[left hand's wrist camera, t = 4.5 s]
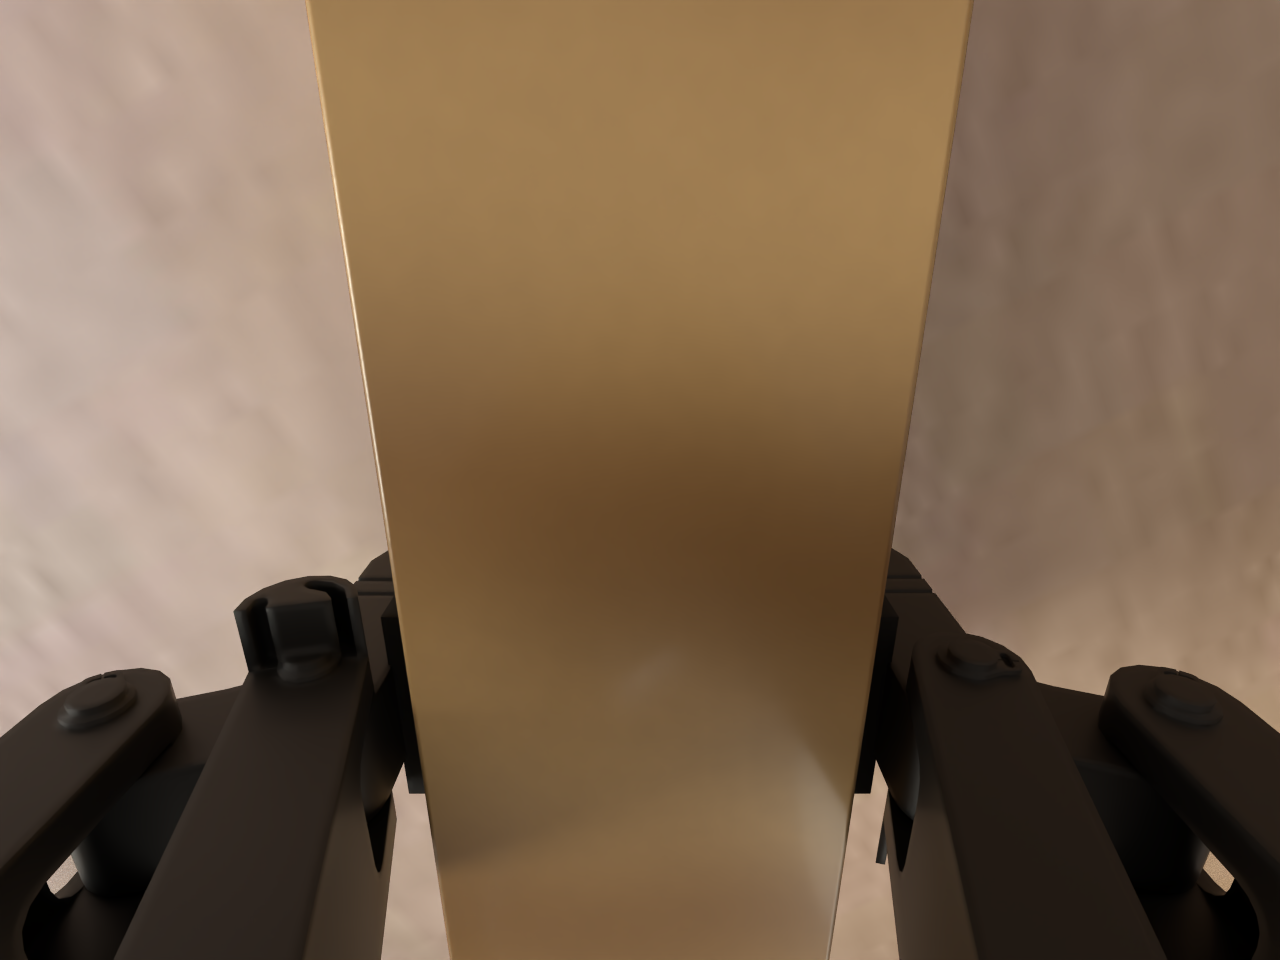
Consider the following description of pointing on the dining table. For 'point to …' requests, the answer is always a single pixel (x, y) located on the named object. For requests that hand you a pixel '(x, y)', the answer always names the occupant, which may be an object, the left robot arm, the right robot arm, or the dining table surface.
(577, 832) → the plank
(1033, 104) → the dining table surface
